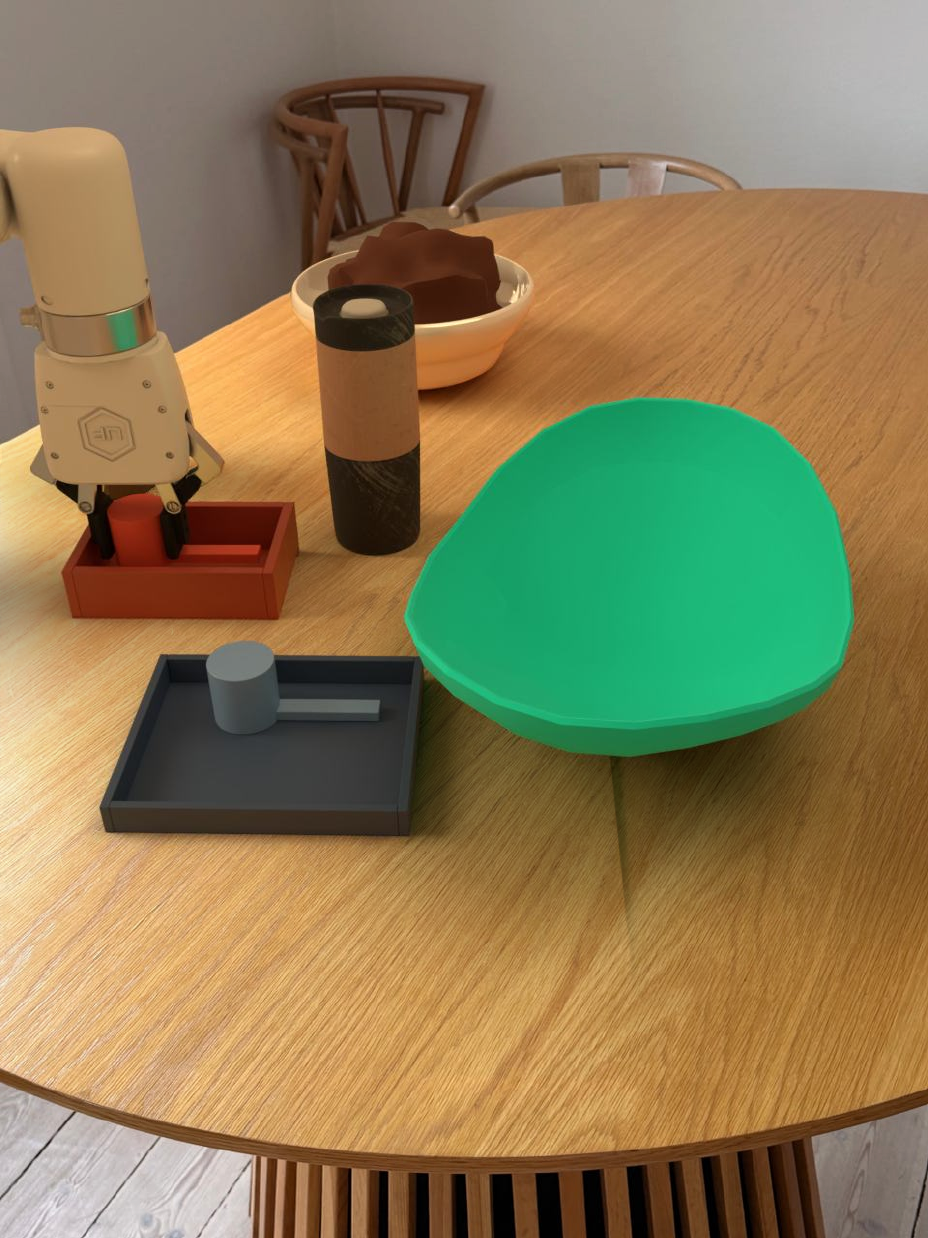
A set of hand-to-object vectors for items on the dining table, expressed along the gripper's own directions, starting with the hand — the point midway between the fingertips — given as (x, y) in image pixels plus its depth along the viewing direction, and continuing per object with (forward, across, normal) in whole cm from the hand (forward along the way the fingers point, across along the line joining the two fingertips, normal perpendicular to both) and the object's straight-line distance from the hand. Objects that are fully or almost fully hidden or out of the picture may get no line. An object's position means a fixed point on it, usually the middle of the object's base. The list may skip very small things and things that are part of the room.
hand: (144, 548), depth 94 cm
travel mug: (+4, +17, +8) cm, 19 cm away
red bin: (+3, +3, 0) cm, 5 cm away
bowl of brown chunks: (+4, +18, +42) cm, 46 cm away
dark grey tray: (+3, +13, -20) cm, 24 cm away
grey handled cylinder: (+3, +14, -16) cm, 22 cm away
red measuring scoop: (+1, +3, 0) cm, 3 cm away
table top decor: (+4, +36, -13) cm, 39 cm away
